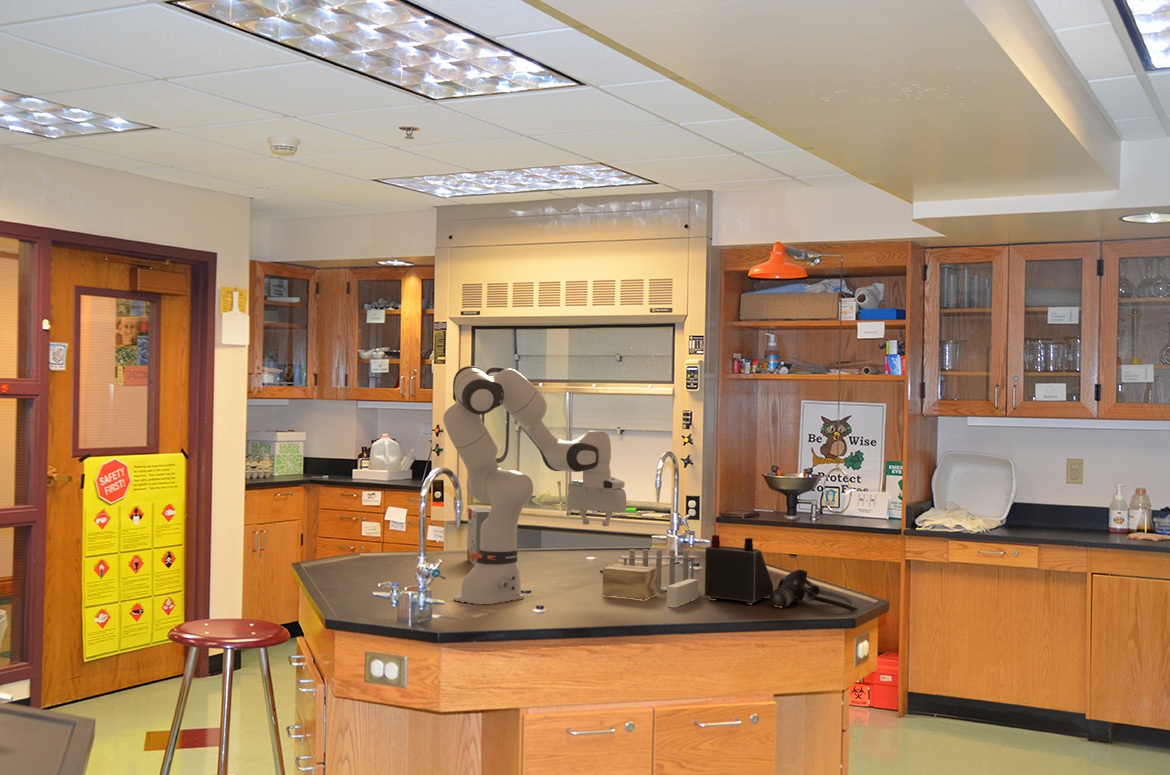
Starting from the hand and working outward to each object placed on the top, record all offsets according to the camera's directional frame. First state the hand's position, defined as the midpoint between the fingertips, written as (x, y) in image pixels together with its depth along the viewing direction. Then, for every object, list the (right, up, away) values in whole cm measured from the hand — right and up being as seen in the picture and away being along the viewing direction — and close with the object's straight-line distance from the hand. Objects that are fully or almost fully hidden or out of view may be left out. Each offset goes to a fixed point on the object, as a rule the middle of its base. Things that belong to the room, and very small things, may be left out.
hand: (595, 525), depth 327 cm
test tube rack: (+20, -22, +5) cm, 30 cm away
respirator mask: (+66, -23, -16) cm, 71 cm away
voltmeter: (+44, -22, -8) cm, 50 cm away
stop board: (+26, -21, -15) cm, 37 cm away
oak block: (+11, -22, -7) cm, 25 cm away
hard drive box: (-42, -22, +55) cm, 72 cm away
